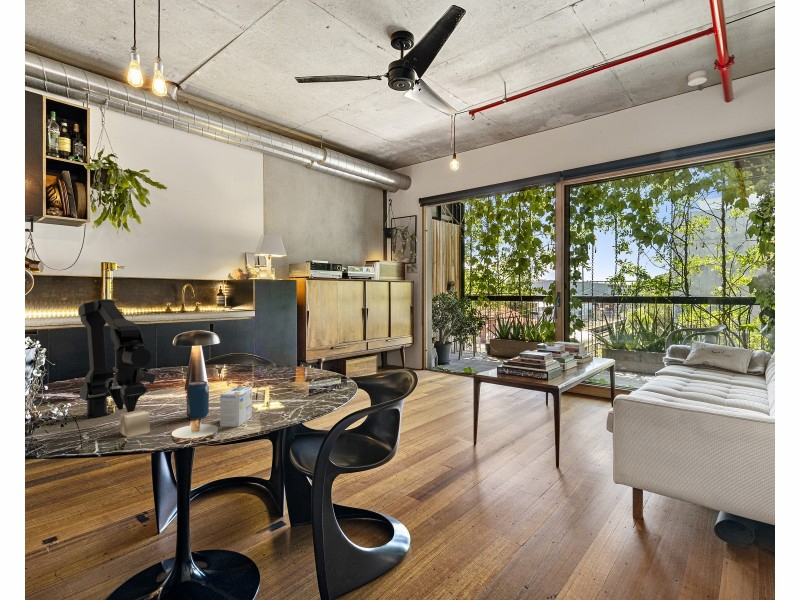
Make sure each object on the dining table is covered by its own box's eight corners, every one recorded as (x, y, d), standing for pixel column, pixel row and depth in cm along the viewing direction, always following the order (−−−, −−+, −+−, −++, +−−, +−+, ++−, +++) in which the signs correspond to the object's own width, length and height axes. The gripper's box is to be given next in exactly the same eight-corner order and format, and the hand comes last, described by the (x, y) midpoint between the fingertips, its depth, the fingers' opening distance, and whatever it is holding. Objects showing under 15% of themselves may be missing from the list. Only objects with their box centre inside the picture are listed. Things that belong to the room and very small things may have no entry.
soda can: (212, 414, 145) (213, 381, 145) (200, 420, 138) (200, 385, 138) (195, 413, 146) (195, 380, 146) (181, 419, 139) (182, 384, 139)
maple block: (120, 413, 125) (127, 417, 121) (142, 409, 129) (149, 413, 126) (120, 433, 125) (127, 437, 121) (142, 428, 130) (149, 432, 126)
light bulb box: (233, 416, 143) (233, 386, 143) (252, 417, 143) (252, 386, 143) (219, 426, 132) (219, 393, 132) (239, 427, 132) (239, 394, 132)
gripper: (164, 364, 131) (164, 412, 131) (142, 358, 143) (142, 402, 143) (125, 368, 122) (124, 420, 122) (104, 361, 134) (104, 409, 134)
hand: (125, 412), depth 130 cm, fingers open, 9 cm apart
